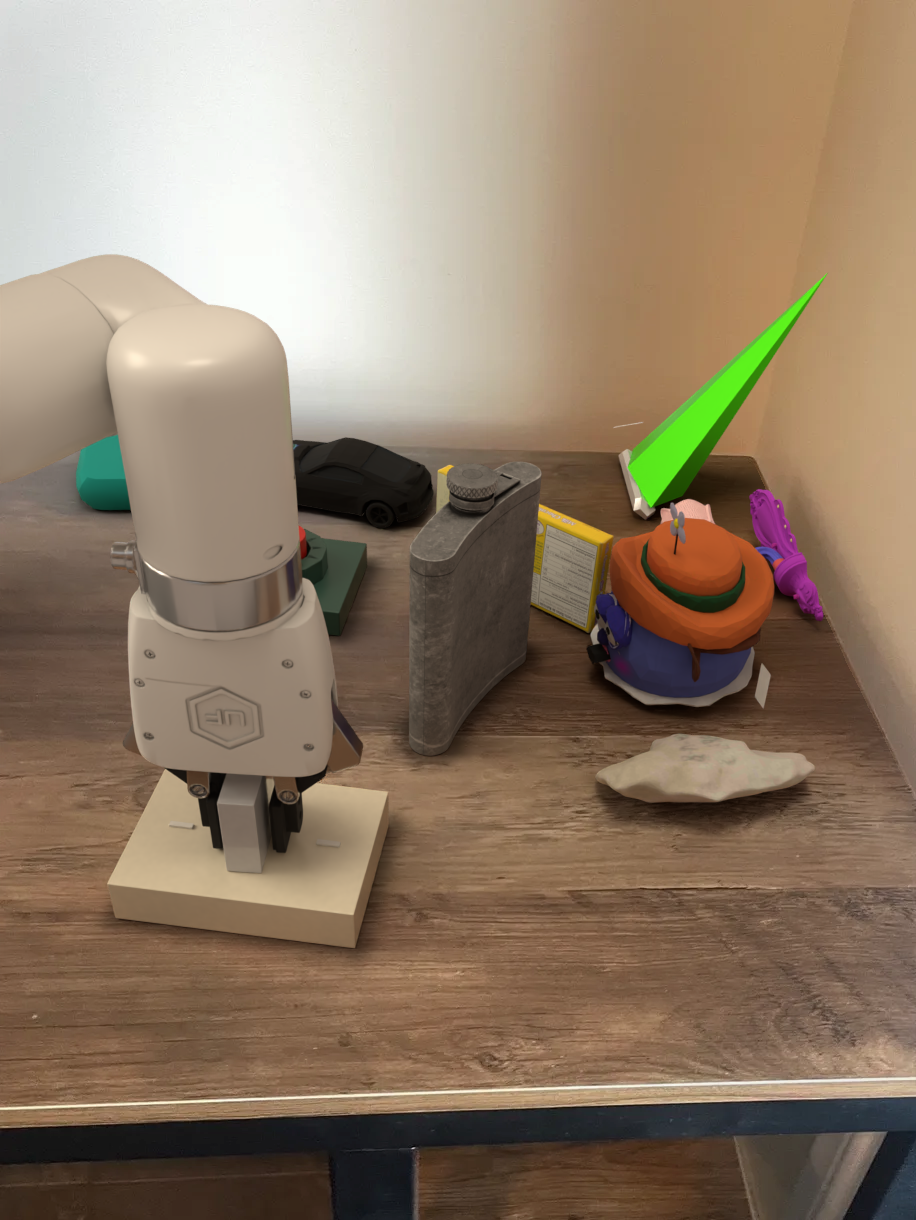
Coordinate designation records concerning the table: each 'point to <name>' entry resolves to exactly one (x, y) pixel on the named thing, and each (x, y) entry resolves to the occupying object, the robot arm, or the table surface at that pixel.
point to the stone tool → (703, 770)
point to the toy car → (360, 480)
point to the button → (302, 542)
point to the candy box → (562, 563)
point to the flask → (469, 596)
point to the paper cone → (701, 421)
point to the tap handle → (245, 821)
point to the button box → (334, 576)
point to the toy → (683, 614)
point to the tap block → (255, 902)
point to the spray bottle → (102, 476)
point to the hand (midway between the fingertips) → (254, 831)
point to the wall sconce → (769, 545)
